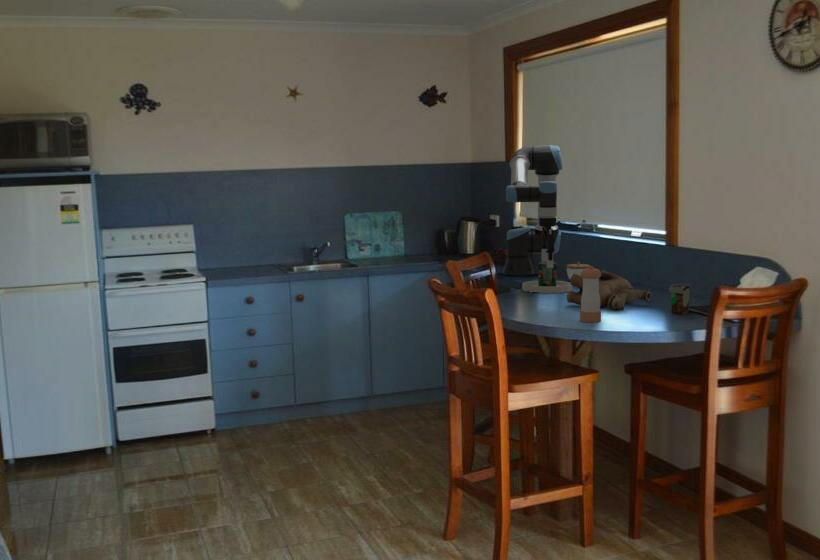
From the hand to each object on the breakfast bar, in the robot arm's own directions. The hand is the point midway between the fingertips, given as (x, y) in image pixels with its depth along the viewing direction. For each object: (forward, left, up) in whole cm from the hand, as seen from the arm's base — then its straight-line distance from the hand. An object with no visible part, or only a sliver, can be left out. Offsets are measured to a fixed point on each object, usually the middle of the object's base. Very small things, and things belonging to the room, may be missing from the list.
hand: (547, 265), depth 373 cm
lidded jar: (-26, +19, -11) cm, 34 cm away
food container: (+63, +37, -11) cm, 74 cm away
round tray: (0, 0, -11) cm, 11 cm away
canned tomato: (0, 0, -10) cm, 10 cm away
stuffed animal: (+44, +17, -11) cm, 48 cm away
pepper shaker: (+77, +2, -11) cm, 78 cm away
